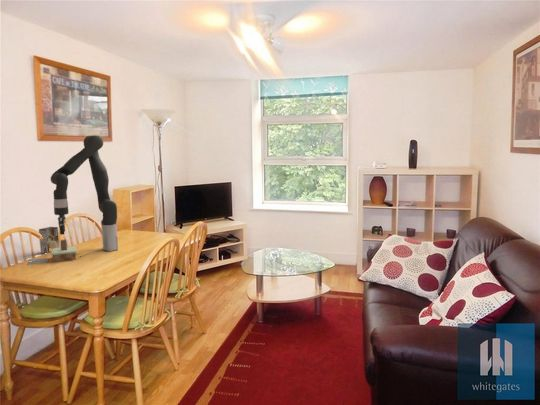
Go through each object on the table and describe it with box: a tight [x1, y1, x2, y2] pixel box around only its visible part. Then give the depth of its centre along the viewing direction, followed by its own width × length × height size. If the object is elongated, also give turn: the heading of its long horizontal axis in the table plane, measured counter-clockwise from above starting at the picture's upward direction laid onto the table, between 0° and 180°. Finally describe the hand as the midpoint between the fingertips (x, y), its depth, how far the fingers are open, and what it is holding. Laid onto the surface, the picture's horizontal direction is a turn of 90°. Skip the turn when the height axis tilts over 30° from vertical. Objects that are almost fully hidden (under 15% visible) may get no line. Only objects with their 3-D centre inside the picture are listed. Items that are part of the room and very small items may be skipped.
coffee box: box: [38, 226, 60, 254], centre depth 260 cm, size 9×6×16 cm
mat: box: [26, 257, 49, 266], centre depth 237 cm, size 10×12×1 cm
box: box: [51, 252, 77, 263], centre depth 243 cm, size 12×12×5 cm
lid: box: [50, 239, 77, 256], centre depth 242 cm, size 13×13×7 cm
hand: (62, 233), depth 241 cm, fingers open, 8 cm apart
